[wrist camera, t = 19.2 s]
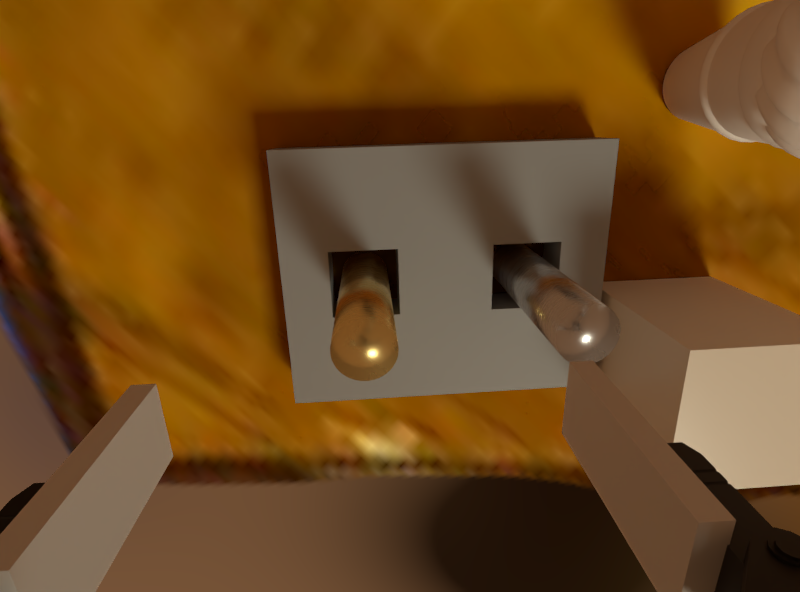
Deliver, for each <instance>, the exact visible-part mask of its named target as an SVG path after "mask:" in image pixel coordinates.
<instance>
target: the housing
mask: <svg viewBox="0 0 800 592" xmlns="http://www.w3.org/2000/svg"><path fill="white" fill-rule="evenodd" d="M601 302H602V303H604V304H605V305H606V306H608V307H609V308H610V309H611V310H613V311H614V312H615V314H616V315H617V317H618V319H619V321H620V327H621V331H620V337H619V340H618V342H617V344H616V346H615V348H614V349H613V350H612V351H611V352H610V353H609V354H608V355H607V356H606V357H605V358H603V359H602V360H600V361H598V362H595V364H596V365H597V366H598V367H599V368H600V369H601V370H602V371H603V373H604V374H605V375H606V376H607V377H608V378H609V379H610V380H611V381H612V383H613V384H614V385H615V386H616V387H617V388H618V389H619V390H620V391H621V393H622V394H623V395H624V396H625V397H626V398H627V399H628V400H629V401H630V403H631V404H632V405H633V406H634V407H635V408H636V409H637V410H638V411H639V413H640V414H641V415H642V416H643V417H644V418H645V419H646V420H647V421H648V423H649V424H650V425H651V426H652V427H653V428H654V429H655V430H656V431H657V433H658V434H659V435H660V436H661V437H662V438H663V439H664V440H665V441H666V443H676V442H683V443H684V444H686V445H687V446H689V447H691V448H692V449H694V450H696V451H697V452H699V453H700V454H702V455H703V456H704V457H705V458H706V459H707V460H708V461H709V462H710V463H711V464H712V465H713V466H714V467H715V468H716V471H717V472H719V473H720V474H721V475H722V476H723V477H724V478H725V479H726V480H727V481H728V484H731V485H732V486H733V487H734V488H735V489H743V488H756V487H770V486H784V485H797V484H800V315H798V314H796V313H793V312H791V311H789V310H786V309H784V308H782V307H780V306H777V305H775V304H773V303H770V302H768V301H766V300H763V299H761V298H759V297H756V296H754V295H752V294H750V293H747V292H745V291H743V290H740V289H738V288H736V287H733V286H731V285H729V284H727V283H724V282H722V281H720V280H717V279H715V278H713V277H710V276H708V277H688V278H668V279H648V280H628V281H608V282H603V288H602V297H601Z"/></svg>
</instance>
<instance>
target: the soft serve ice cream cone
mask: <svg viewBox="0 0 800 592" xmlns="http://www.w3.org/2000/svg"><path fill="white" fill-rule="evenodd" d="M663 98H664V101H665V104H666V106H667V108H668V109H669V111H670V112H671V113H672V114H673V115H674V116H676V117H678V118H680V119H683V120H686V121H688V122H691V123H694V124H697V125H700V126H703V127H706V128H709V129H712V130H715V131H717V132H718V133H719V134H721V135H723V136H725V137H727V138H728V139H731V140H735V141H739V142H762V143H768V144H770V145H772V146H774V147H777V148H780V149H784V150H785V151H786V152H788V153H789V154H791V155H793V156H795V157H797V158H799V159H800V0H774V1H770V2H764V3H761V4H758V5H756V6H753V7H751V8H748V9H747V10H745V11H744V12H742V13H740V14H739V15H737V16H736V17H735V18H734V19H733V20H731V21H730V22H729V23H728V24H727V25H726V26H725V27H723V28H721V29H720V30H718V31H716V32H715V33H713V34H711V35H710V36H708V37H706V38H705V39H703V40H701V41H699V42H698V43H696V44H694V45H693V46H691V47H689V48H688V49H686V50H685V51H683V52H682V53H680V54H679V55H678V56H677V57H676V58H675V59H674V61H673V62H672V63H671V65H670V66H669V68H668V70H667V72H666V75H665V78H664V82H663Z"/></svg>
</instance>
